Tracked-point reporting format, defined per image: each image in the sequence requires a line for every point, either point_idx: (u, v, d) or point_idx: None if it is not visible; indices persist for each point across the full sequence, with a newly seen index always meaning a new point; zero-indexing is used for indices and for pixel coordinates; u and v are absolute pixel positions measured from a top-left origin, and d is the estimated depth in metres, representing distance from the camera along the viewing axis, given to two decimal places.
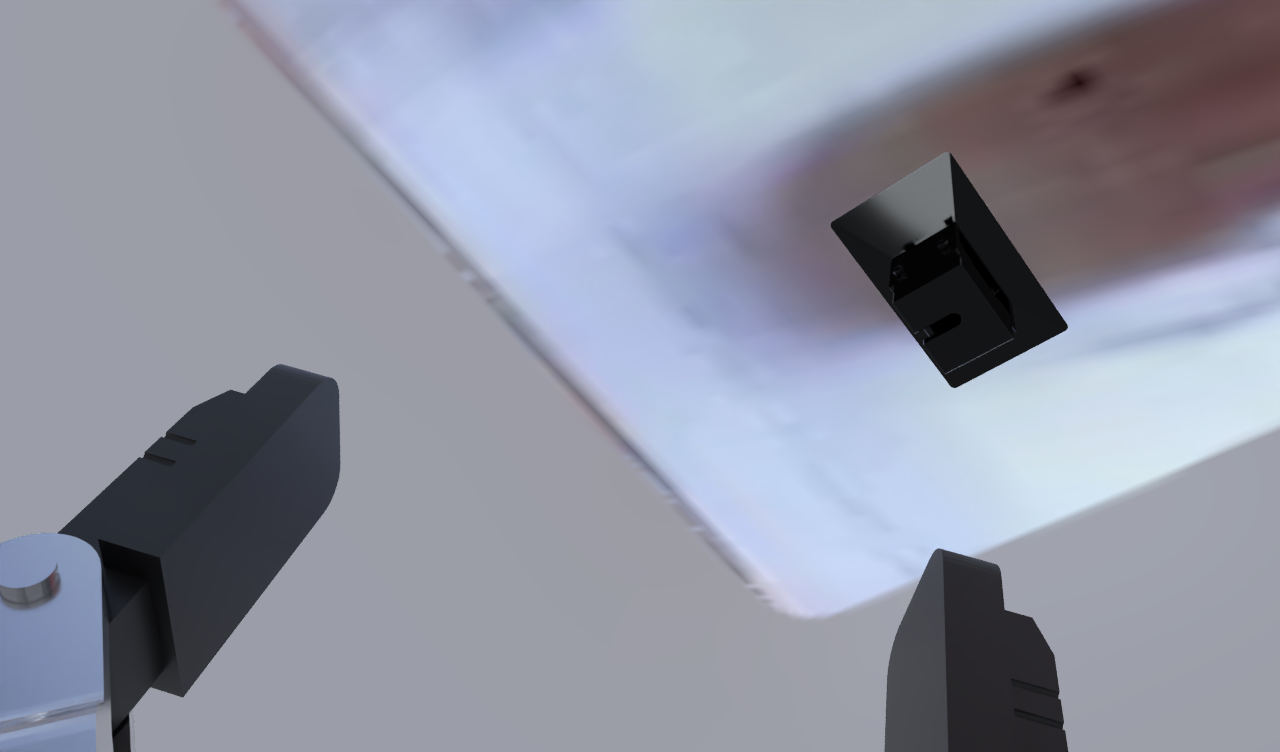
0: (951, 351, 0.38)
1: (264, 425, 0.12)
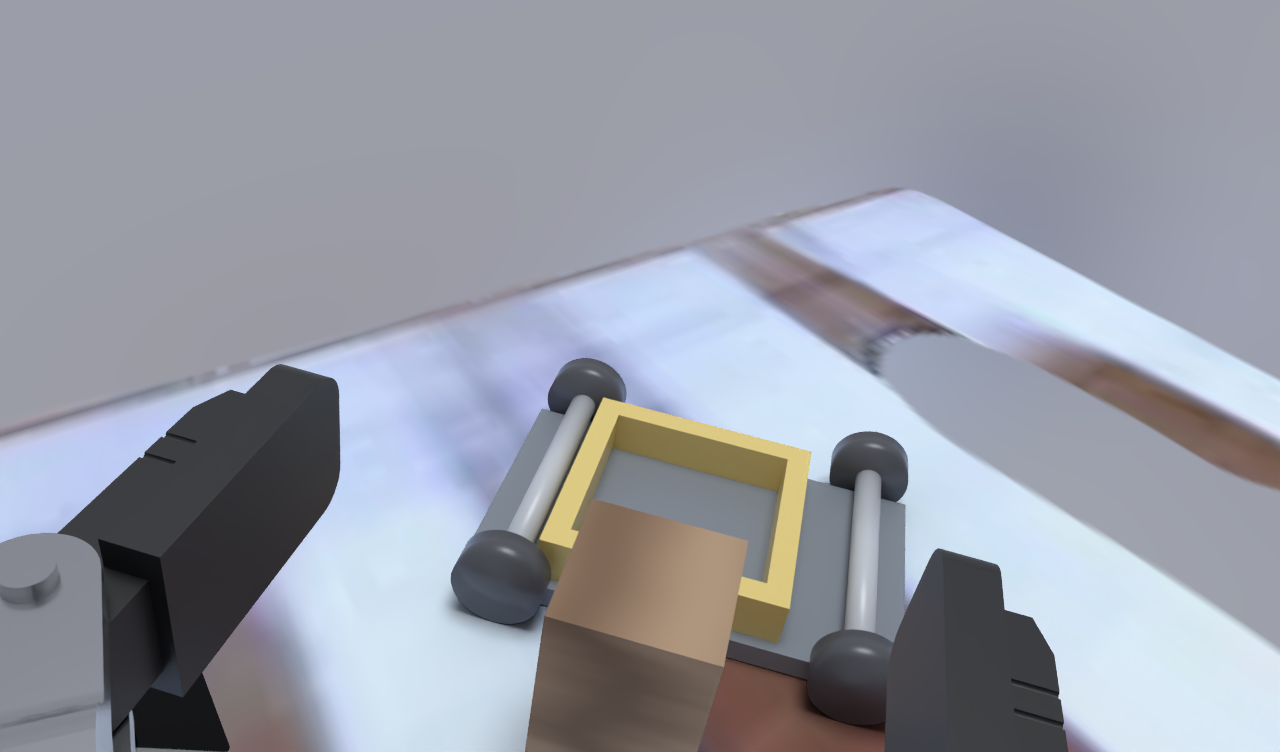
0: None
1: (264, 425, 0.12)
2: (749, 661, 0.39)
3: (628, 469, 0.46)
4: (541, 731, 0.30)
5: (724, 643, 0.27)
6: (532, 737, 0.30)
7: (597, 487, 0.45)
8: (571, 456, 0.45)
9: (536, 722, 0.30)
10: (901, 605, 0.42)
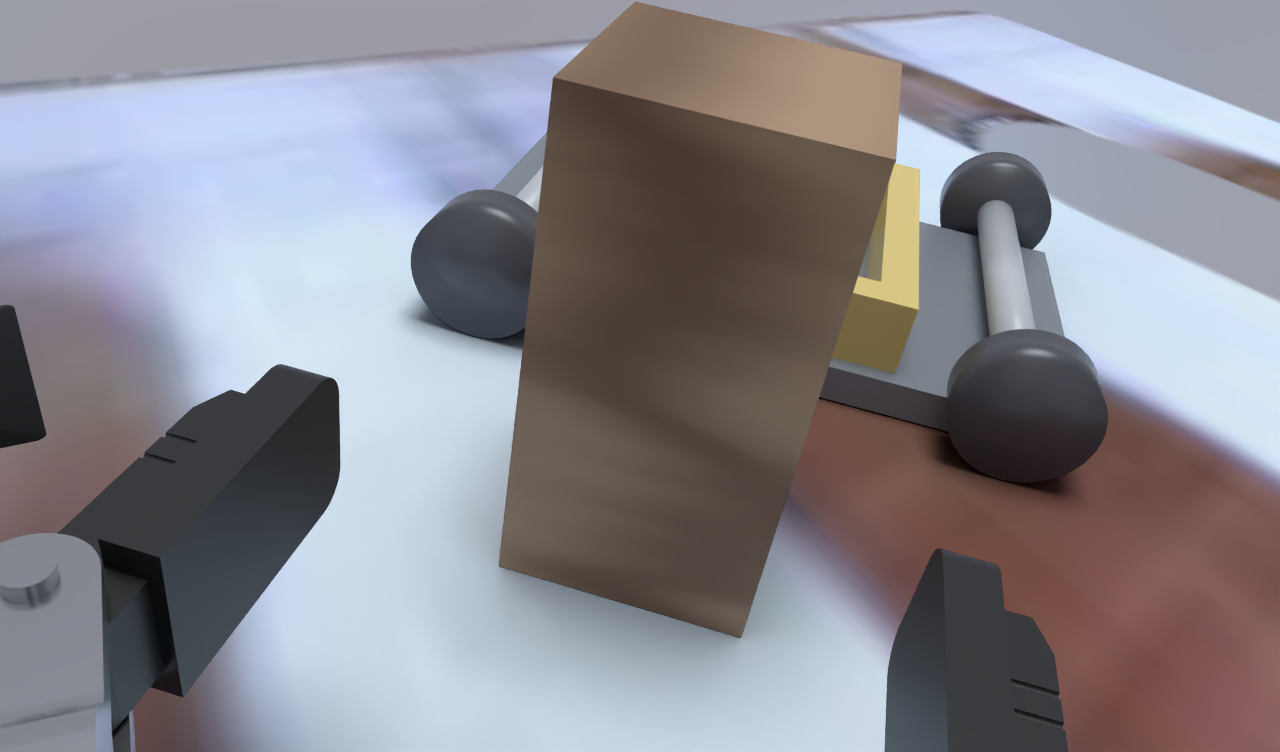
0: None
1: (264, 425, 0.12)
2: (852, 401, 0.27)
3: None
4: (544, 367, 0.17)
5: (889, 139, 0.15)
6: (528, 384, 0.17)
7: None
8: None
9: (535, 348, 0.17)
10: None
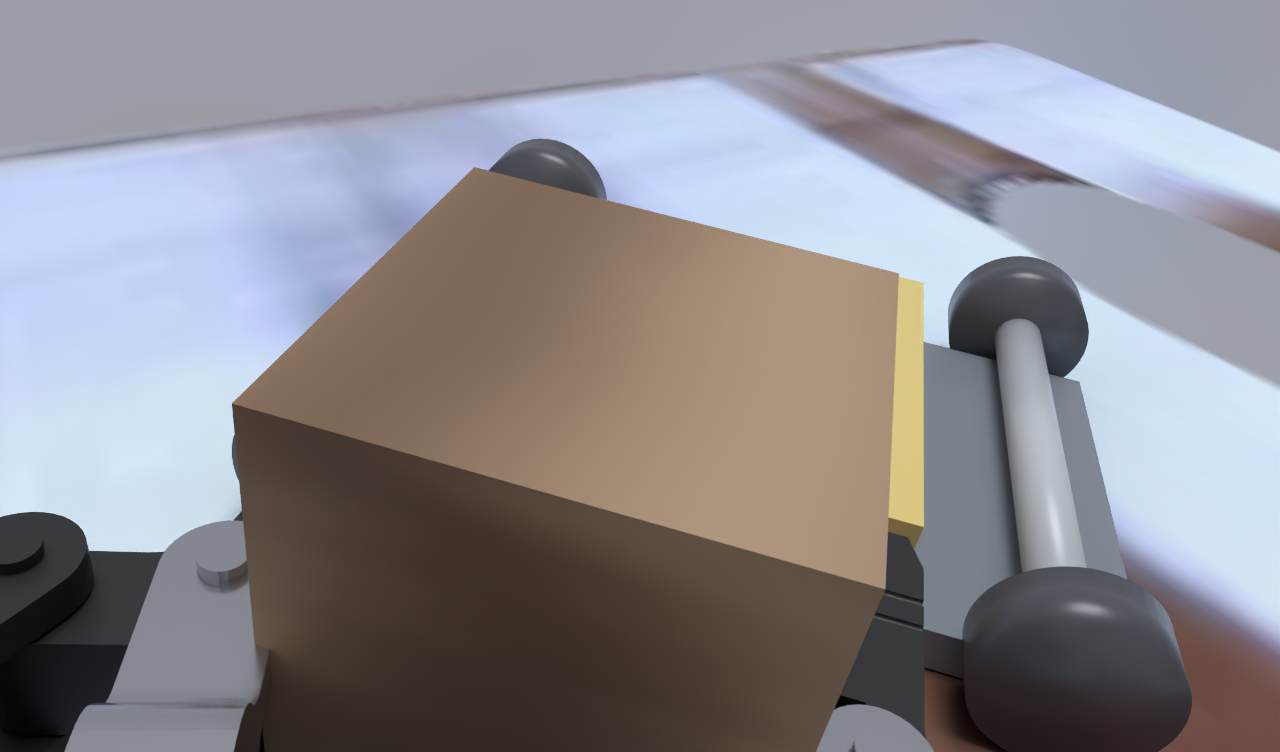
0: None
1: None
2: None
3: None
4: None
5: (874, 513, 0.08)
6: None
7: None
8: None
9: None
10: (1111, 538, 0.22)
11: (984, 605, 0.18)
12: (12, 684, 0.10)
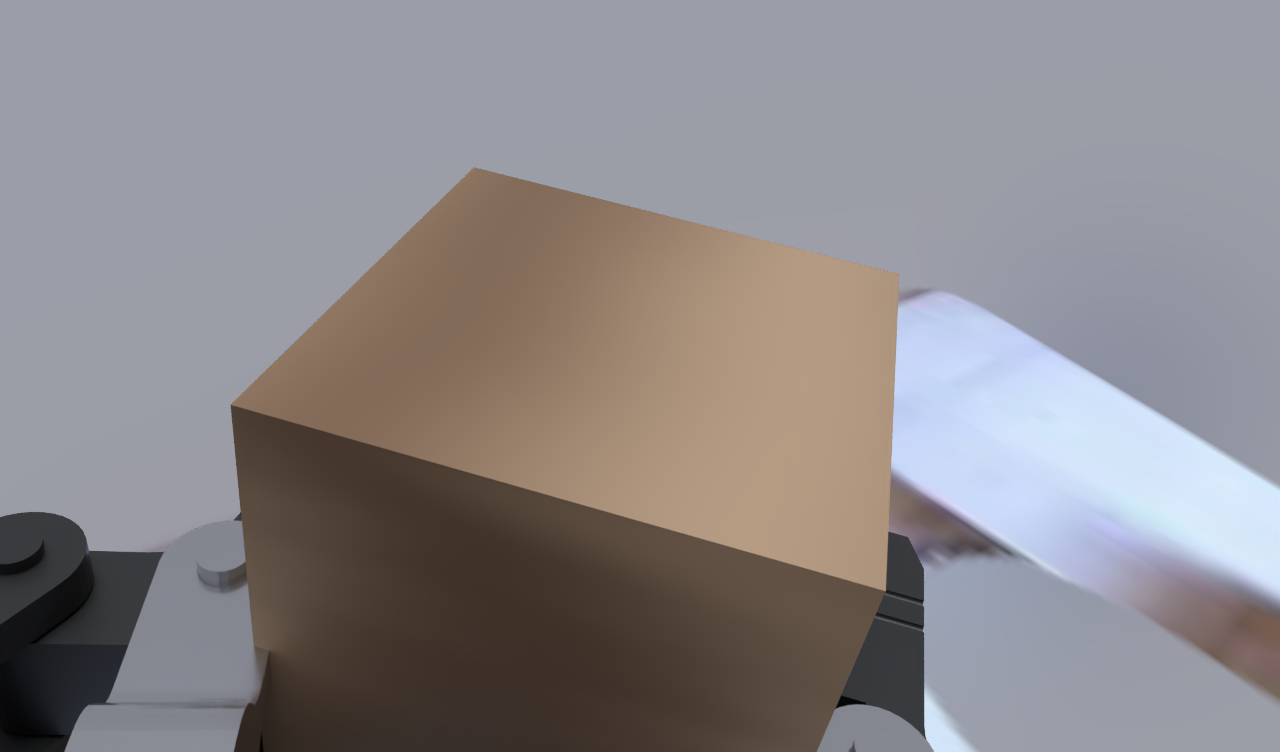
0: None
1: None
2: None
3: None
4: None
5: (875, 514, 0.08)
6: None
7: None
8: None
9: None
10: None
11: None
12: (12, 685, 0.10)
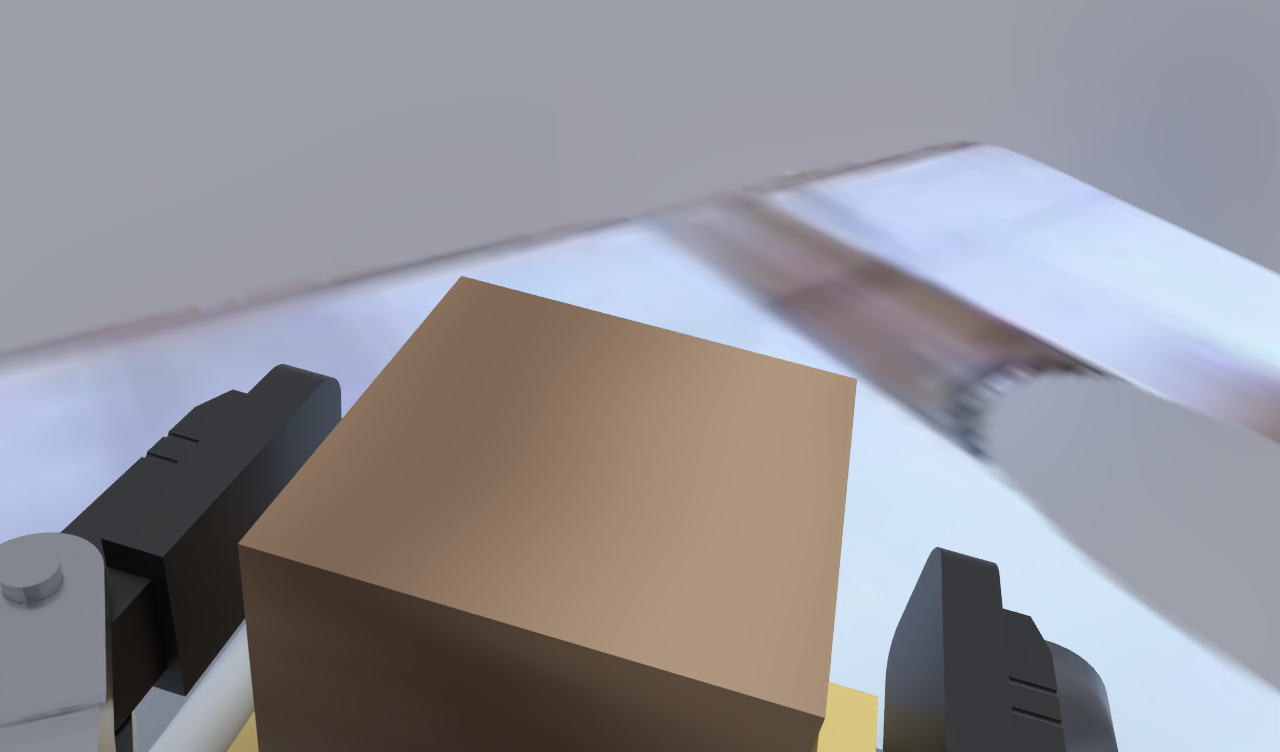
0: None
1: (266, 425, 0.12)
2: None
3: None
4: None
5: (820, 639, 0.09)
6: None
7: None
8: (248, 720, 0.17)
9: None
10: None
11: None
12: None
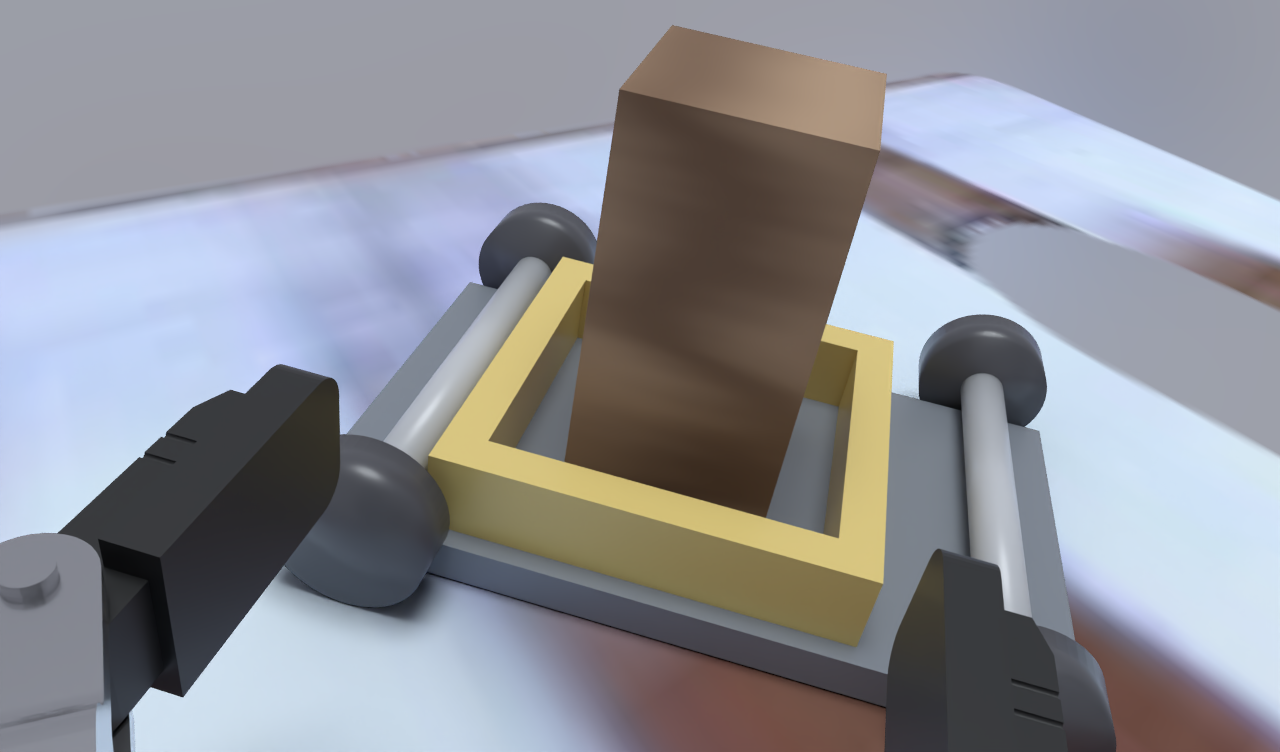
0: None
1: (264, 425, 0.12)
2: (804, 679, 0.22)
3: None
4: (604, 317, 0.22)
5: (875, 135, 0.19)
6: (591, 330, 0.22)
7: (548, 391, 0.28)
8: (506, 340, 0.28)
9: (597, 301, 0.22)
10: (1060, 584, 0.24)
11: None
12: None
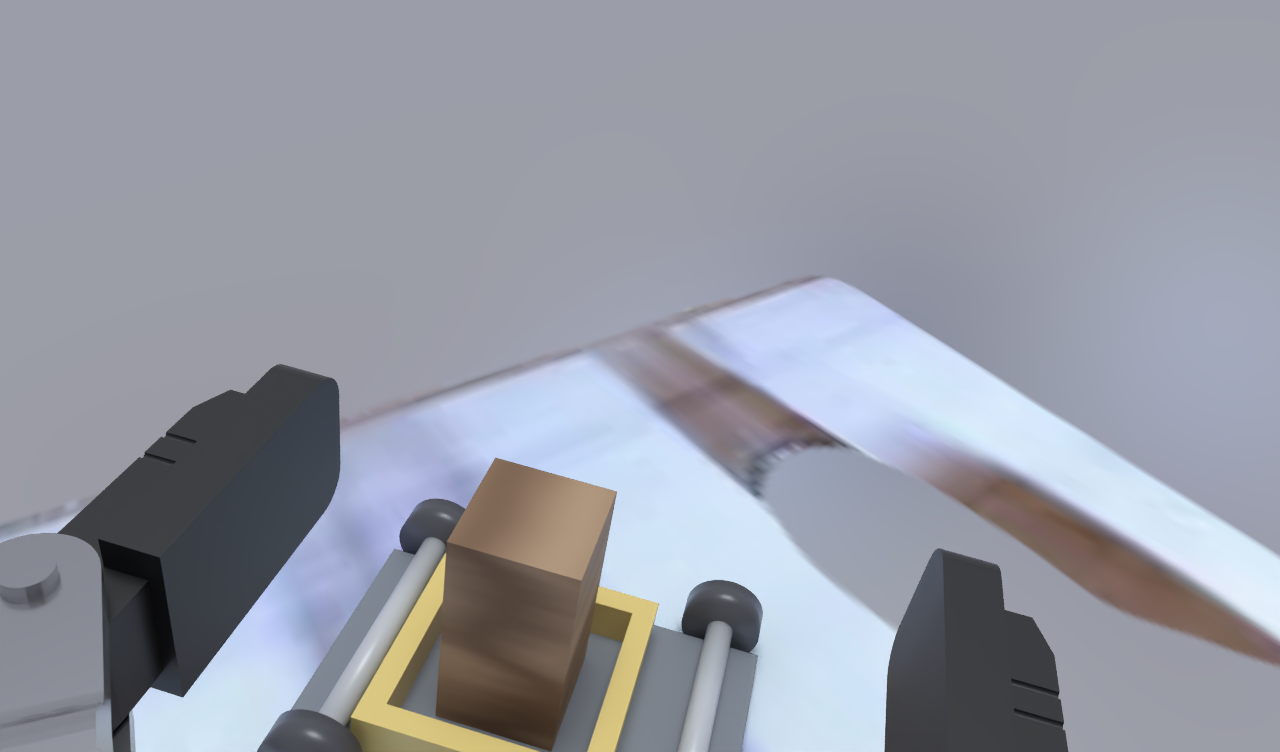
0: None
1: (264, 425, 0.12)
2: None
3: None
4: (451, 638, 0.38)
5: (584, 564, 0.36)
6: (444, 643, 0.39)
7: (436, 641, 0.44)
8: (409, 610, 0.44)
9: (446, 630, 0.38)
10: None
11: None
12: None
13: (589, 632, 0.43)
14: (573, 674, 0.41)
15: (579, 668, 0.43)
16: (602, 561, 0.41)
